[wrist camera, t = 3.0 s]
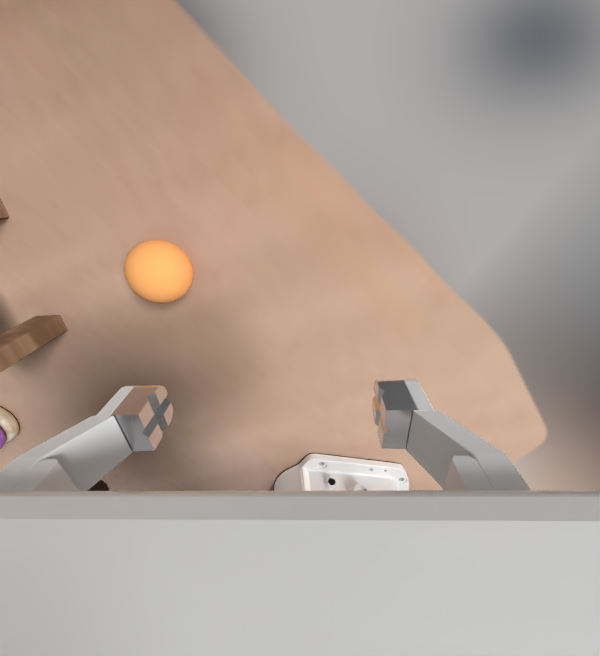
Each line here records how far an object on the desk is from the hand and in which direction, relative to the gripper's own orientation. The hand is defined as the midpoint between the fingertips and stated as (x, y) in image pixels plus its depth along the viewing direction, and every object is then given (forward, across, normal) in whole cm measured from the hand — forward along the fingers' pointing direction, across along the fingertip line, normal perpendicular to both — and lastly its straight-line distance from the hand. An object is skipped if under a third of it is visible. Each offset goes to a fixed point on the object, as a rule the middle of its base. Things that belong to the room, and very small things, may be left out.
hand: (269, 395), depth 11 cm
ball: (+18, +13, 0) cm, 22 cm away
